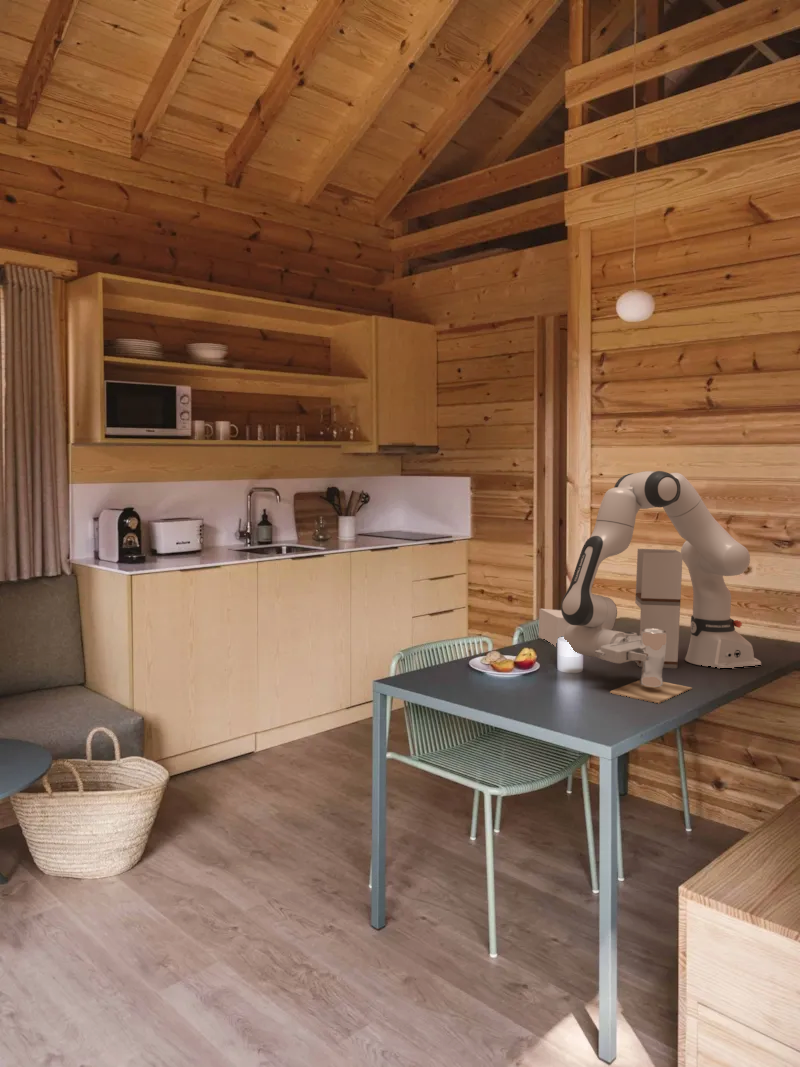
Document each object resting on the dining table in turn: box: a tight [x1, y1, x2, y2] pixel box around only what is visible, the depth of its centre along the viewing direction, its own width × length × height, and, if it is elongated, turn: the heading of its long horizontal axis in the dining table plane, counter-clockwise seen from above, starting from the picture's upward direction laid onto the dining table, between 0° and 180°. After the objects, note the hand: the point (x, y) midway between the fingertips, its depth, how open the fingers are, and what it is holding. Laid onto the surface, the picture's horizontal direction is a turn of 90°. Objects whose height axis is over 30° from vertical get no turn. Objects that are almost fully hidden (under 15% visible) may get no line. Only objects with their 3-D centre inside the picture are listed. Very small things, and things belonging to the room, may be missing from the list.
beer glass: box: [639, 628, 667, 688], centre depth 237 cm, size 7×7×15 cm
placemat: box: [609, 679, 693, 705], centre depth 237 cm, size 20×14×1 cm
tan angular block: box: [538, 608, 570, 648], centre depth 294 cm, size 14×29×10 cm, turn 39°
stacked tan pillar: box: [633, 548, 683, 669], centre depth 268 cm, size 11×11×35 cm
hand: (655, 656), depth 236 cm, fingers closed on beer glass, 6 cm apart
